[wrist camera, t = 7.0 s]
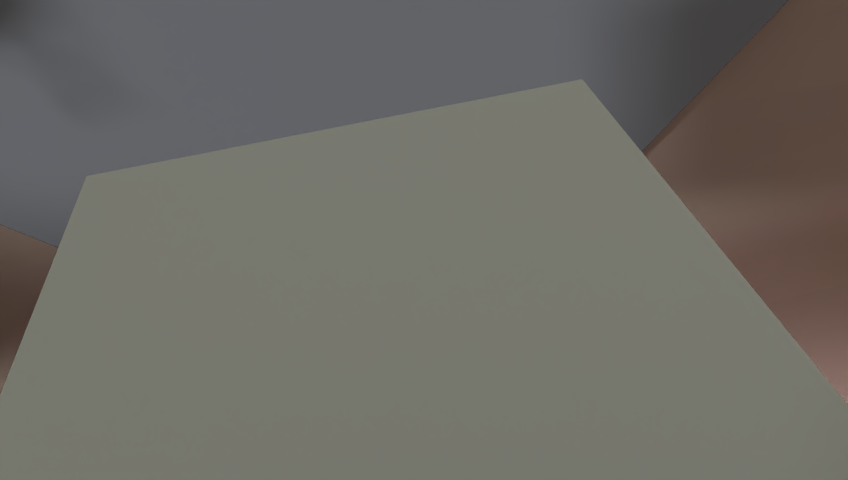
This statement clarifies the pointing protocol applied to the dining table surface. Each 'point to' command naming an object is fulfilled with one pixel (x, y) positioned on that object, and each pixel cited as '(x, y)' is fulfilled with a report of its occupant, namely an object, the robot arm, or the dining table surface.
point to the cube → (410, 317)
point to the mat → (316, 73)
